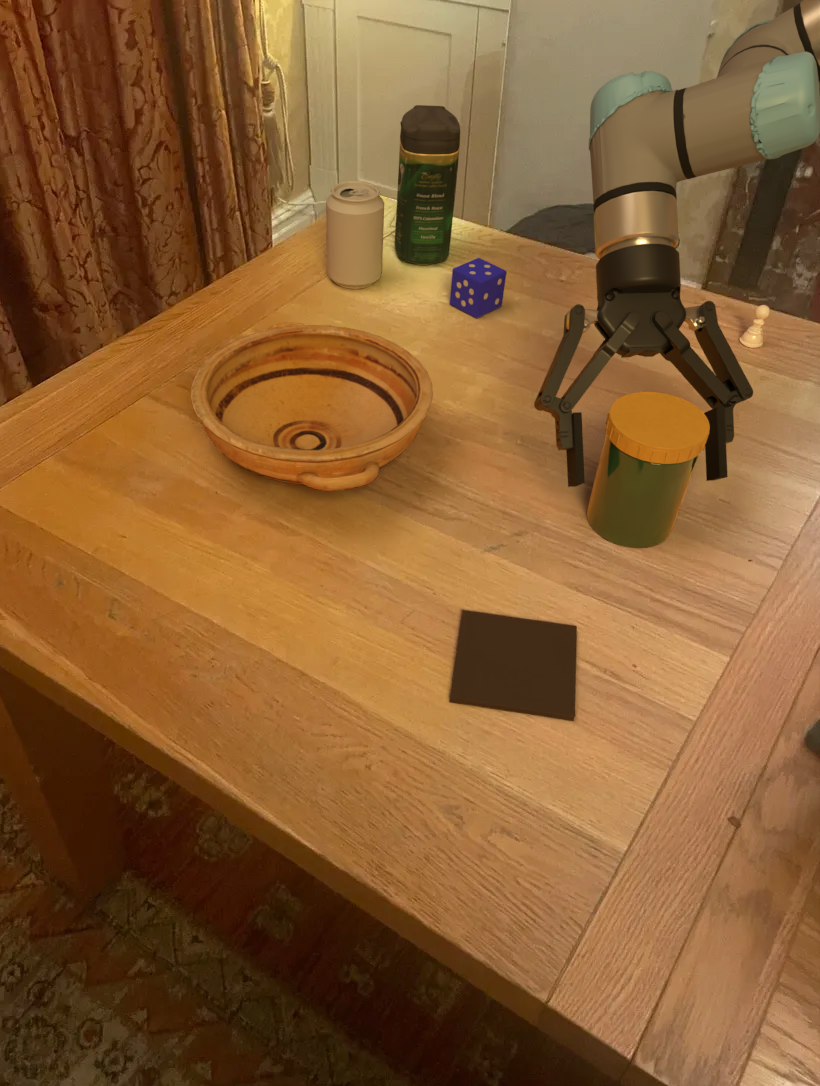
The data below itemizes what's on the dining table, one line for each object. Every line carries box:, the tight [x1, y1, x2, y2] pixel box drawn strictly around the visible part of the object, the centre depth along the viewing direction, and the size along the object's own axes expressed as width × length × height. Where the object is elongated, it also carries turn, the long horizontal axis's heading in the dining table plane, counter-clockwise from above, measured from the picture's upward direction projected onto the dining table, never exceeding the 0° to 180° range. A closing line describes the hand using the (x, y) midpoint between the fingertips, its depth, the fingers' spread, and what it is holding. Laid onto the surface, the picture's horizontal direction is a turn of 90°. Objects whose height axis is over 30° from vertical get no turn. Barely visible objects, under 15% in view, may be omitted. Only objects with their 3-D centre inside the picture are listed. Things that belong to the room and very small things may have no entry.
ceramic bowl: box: [190, 321, 434, 492], centre depth 94 cm, size 30×24×8 cm
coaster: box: [448, 609, 578, 722], centre depth 76 cm, size 10×10×1 cm
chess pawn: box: [739, 304, 771, 349], centre depth 112 cm, size 3×3×5 cm
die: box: [449, 257, 507, 319], centre depth 117 cm, size 5×5×5 cm
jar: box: [586, 432, 699, 549], centre depth 86 cm, size 8×8×12 cm
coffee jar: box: [394, 104, 461, 266], centre depth 123 cm, size 10×8×19 cm
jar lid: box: [605, 391, 710, 464], centre depth 82 cm, size 9×9×2 cm
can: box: [325, 180, 385, 290], centre depth 119 cm, size 8×8×12 cm
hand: (647, 482), depth 85 cm, fingers open, 13 cm apart
